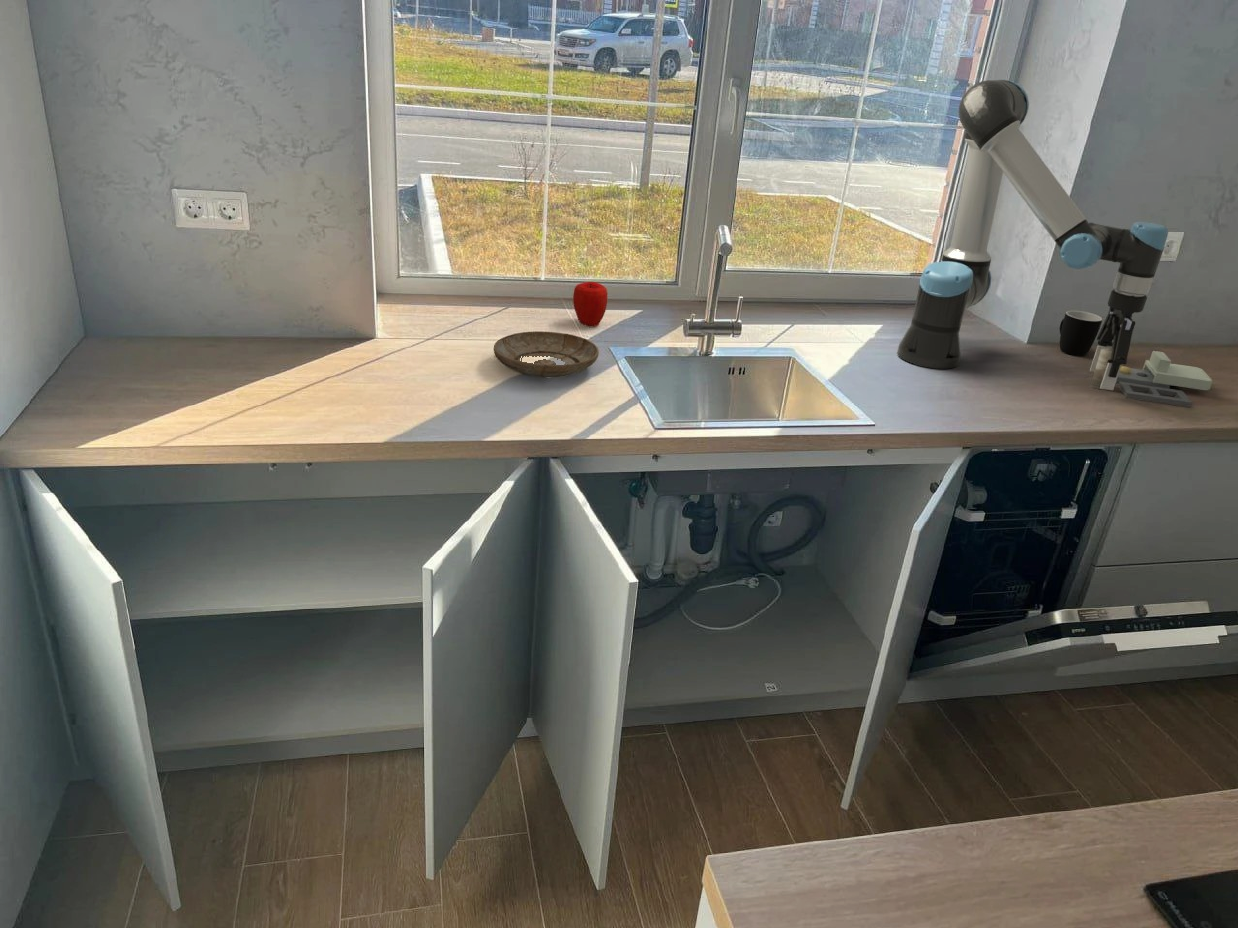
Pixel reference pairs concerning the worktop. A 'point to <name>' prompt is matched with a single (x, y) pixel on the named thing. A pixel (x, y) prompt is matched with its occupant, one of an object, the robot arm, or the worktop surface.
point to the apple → (590, 302)
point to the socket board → (1154, 394)
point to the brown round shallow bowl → (546, 353)
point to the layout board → (1138, 377)
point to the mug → (1078, 332)
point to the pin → (1101, 368)
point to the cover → (1176, 373)
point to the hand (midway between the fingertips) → (1101, 380)
